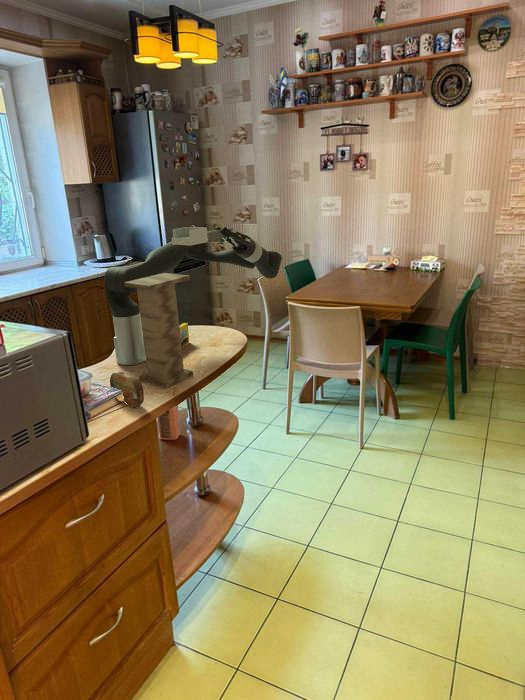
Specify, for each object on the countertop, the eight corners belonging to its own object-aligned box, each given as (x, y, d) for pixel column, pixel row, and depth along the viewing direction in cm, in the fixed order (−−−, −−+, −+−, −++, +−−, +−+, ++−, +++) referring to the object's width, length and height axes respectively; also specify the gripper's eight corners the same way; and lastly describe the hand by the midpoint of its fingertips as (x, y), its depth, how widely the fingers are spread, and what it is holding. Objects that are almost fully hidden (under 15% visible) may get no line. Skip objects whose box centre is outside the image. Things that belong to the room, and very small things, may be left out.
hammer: (190, 245, 151) (189, 230, 149) (172, 244, 156) (170, 229, 154) (239, 235, 169) (238, 222, 167) (221, 235, 174) (220, 221, 172)
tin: (111, 396, 146) (107, 370, 144) (120, 393, 148) (116, 367, 146) (137, 411, 136) (134, 383, 133) (147, 407, 138) (144, 380, 135)
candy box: (169, 357, 177) (167, 335, 174) (164, 357, 177) (161, 335, 174) (190, 343, 191) (188, 322, 188) (185, 342, 192) (183, 322, 189)
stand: (163, 389, 149) (150, 285, 138) (137, 381, 156) (123, 282, 145) (199, 372, 161) (190, 275, 150) (173, 365, 168) (163, 272, 157)
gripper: (260, 259, 176) (232, 240, 162) (230, 257, 184) (201, 238, 170) (265, 239, 177) (238, 219, 162) (235, 238, 185) (206, 218, 170)
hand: (219, 229), depth 166 cm, fingers closed on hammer, 2 cm apart
